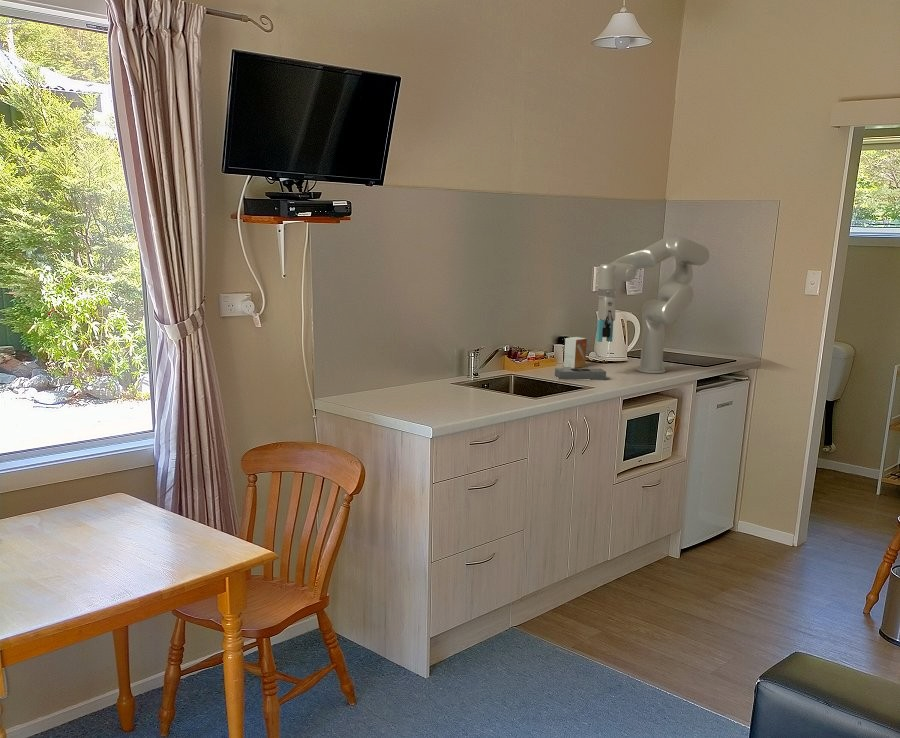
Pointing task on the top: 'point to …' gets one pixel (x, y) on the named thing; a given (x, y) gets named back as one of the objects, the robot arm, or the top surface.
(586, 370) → the rail
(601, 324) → the teal notched block
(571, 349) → the small box
